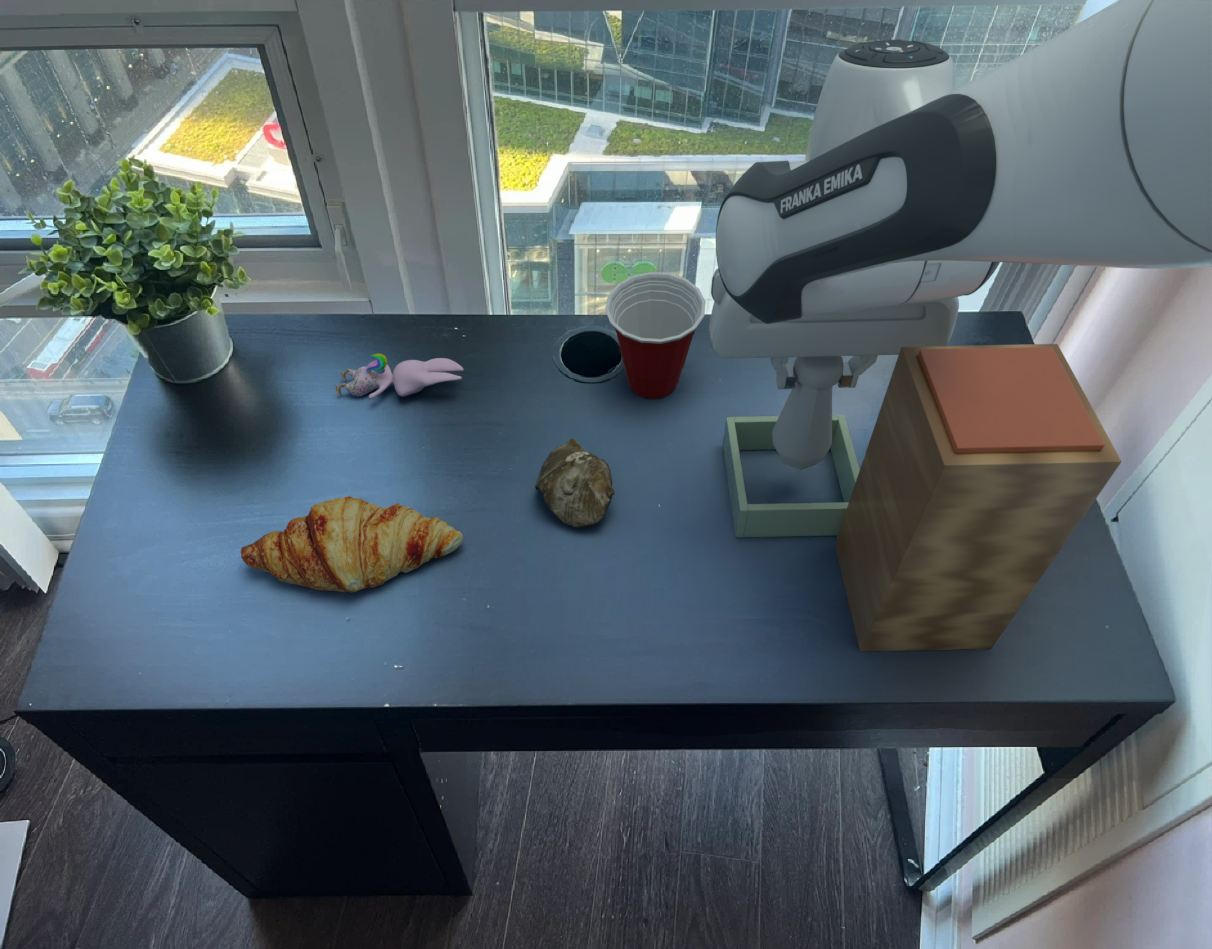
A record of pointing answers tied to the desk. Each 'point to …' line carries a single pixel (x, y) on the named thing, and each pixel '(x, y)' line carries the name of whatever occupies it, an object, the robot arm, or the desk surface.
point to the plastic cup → (655, 328)
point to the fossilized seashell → (576, 485)
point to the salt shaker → (808, 412)
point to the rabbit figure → (399, 376)
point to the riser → (954, 522)
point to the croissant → (351, 545)
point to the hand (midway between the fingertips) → (815, 384)
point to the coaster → (1008, 400)
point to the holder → (792, 515)
